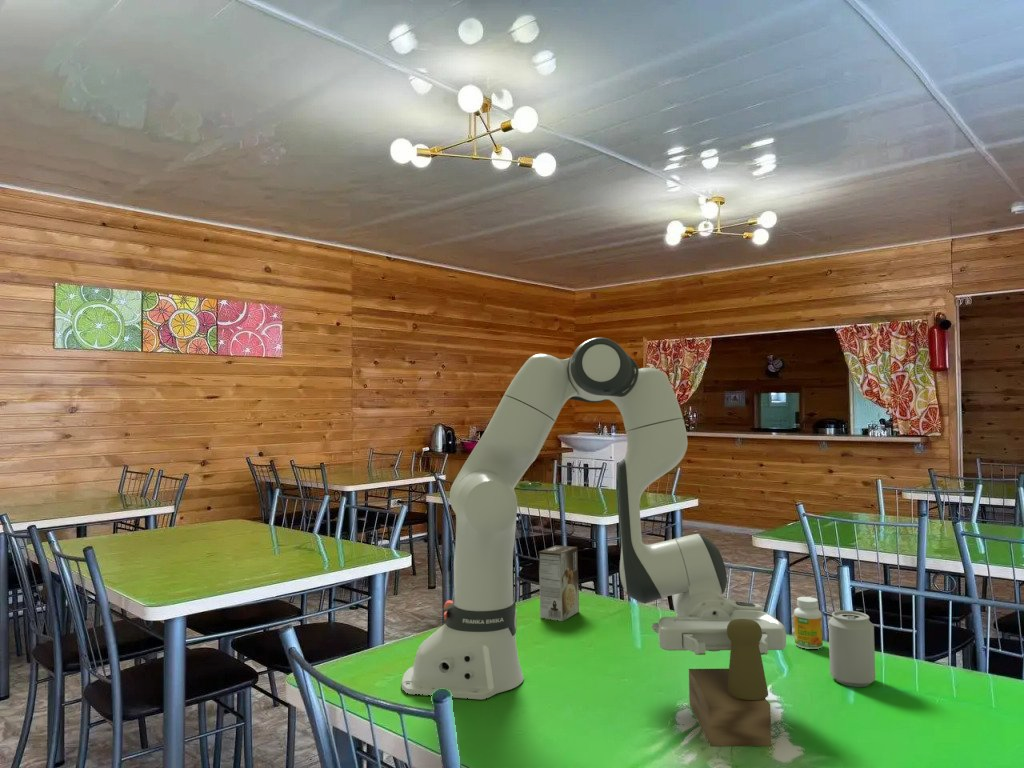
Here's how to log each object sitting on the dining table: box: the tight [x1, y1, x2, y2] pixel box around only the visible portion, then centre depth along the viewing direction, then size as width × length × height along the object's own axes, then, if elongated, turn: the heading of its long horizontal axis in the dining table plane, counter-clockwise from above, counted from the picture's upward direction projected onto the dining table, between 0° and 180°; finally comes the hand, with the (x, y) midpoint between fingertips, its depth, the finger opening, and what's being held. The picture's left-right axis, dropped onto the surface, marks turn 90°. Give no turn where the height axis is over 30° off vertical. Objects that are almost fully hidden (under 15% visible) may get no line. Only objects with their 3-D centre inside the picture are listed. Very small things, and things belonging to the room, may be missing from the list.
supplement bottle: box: [793, 596, 824, 650], centre depth 152 cm, size 5×5×10 cm
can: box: [827, 610, 876, 688], centre depth 133 cm, size 8×8×12 cm
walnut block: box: [688, 668, 772, 747], centre depth 116 cm, size 9×15×6 cm, turn 178°
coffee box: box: [538, 545, 580, 622], centre depth 178 cm, size 9×6×16 cm
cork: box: [727, 619, 769, 700], centre depth 113 cm, size 6×6×11 cm
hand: (731, 649), depth 113 cm, fingers open, 8 cm apart
